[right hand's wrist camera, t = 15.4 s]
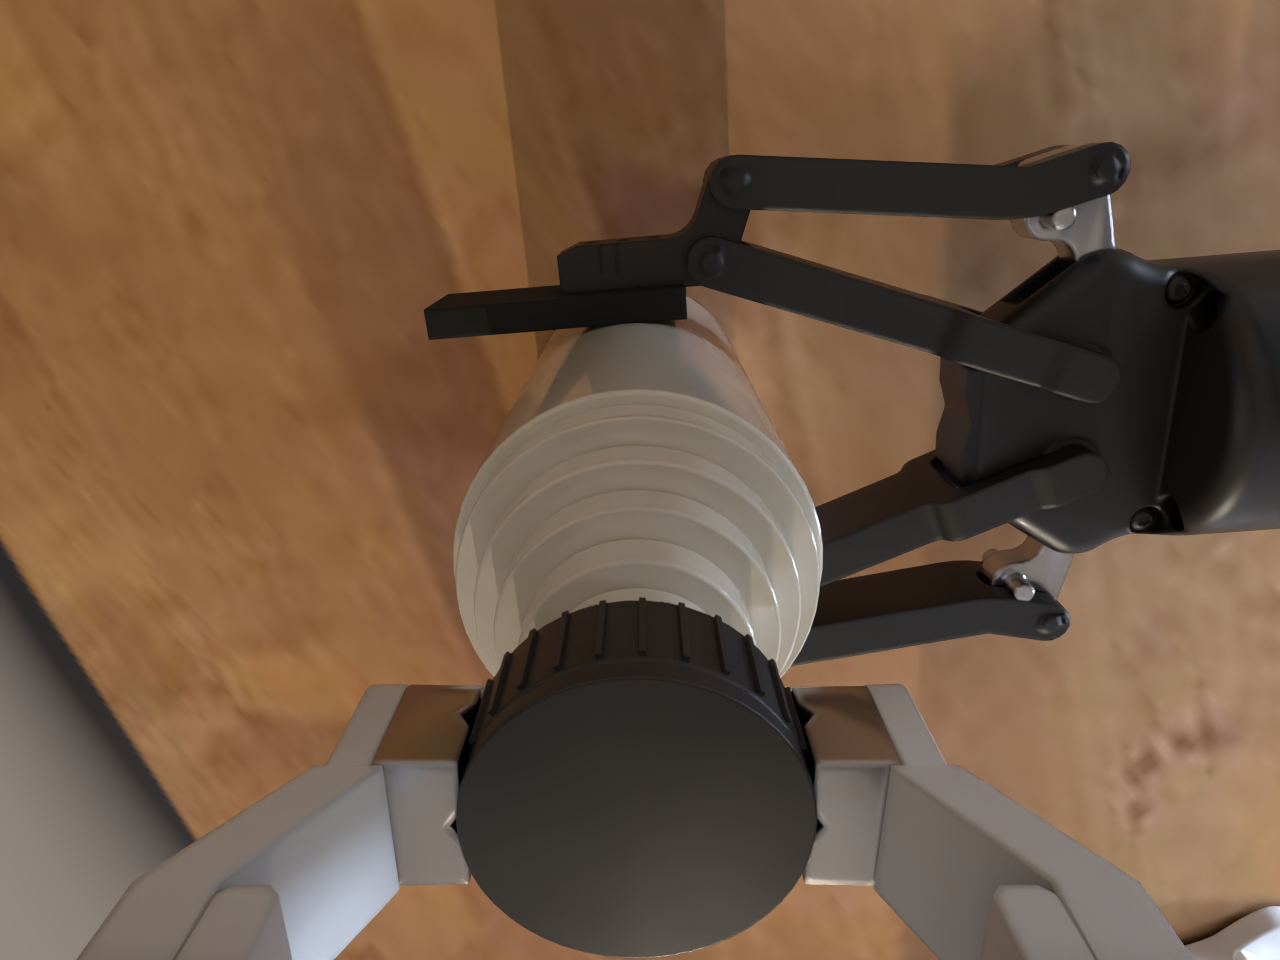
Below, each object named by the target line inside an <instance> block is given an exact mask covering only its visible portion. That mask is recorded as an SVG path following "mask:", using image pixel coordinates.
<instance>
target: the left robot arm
mask: <svg viewBox="0 0 1280 960" xmlns="http://www.w3.org/2000/svg"><path fill="white" fill-rule="evenodd" d="M1130 162H1131V161H1130V158H1129V155H1128V152H1127V151H1126V150H1125V149H1124V148H1123V146H1122V145H1119V144H1116V143H1113V142H1105V143H1086V144H1073V145H1060V146H1052V147H1049V148H1046V149H1043V150H1040V151H1037V152H1034V153H1031V154H1028V155H1024V156H1021V157H1018V158H1015V159H1012V160H1009V161H1006V162H1003V163H1000V164H997V165H972V164H948V163H924V162H900V161H876V160H852V159H828V158H804V157H780V156H756V155H730V156H725V157H722V158H718V159H716V160H715V161H713V162H712V163H710V165H709V166H708V168H707V169H706V170H705V173H704V177H703V184H702V188H701V191H700V195H699V198H698V202H697V205H696V209H695V212H694V214H693V217H692V219H691V220H690V222H689V223H688V224H687V225H686V226H685V227H684V228H683V229H682V230H680V231H678V232H676V233H672V234H668V235H656V236H644V237H632V238H620V239H608V240H596V241H584V242H579V243H577V244H575V245H573V246H571V247H569V248H567V249H565V250H563V251H562V252H561V253H560V254H559V255H558V256H557V261H558V269H559V278H560V285H556V286H543V287H531V288H519V289H507V290H494V291H482V292H470V293H458V294H448V295H446V296H445V297H443V298H442V299H440V300H438V301H437V302H435V303H434V304H432V305H430V306H429V307H427V308H426V309H424V314H425V320H426V325H427V331H428V337H429V340H433V339H445V338H458V337H470V336H483V335H495V334H508V333H520V332H533V331H545V330H558V329H571V328H583V327H596V326H608V325H619V324H632V323H646V322H658V321H671V320H683V319H687V304H686V288H685V287H689V286H701V285H702V286H704V287H707V288H710V289H714V290H717V291H721V292H724V293H727V294H731V295H734V296H738V297H741V298H744V299H748V300H751V301H755V302H758V303H761V304H765V305H768V306H772V307H775V308H779V309H782V310H785V311H789V312H792V313H796V314H799V315H802V316H806V317H809V318H813V319H816V320H819V321H823V322H826V323H830V324H833V325H836V326H840V327H843V328H847V329H850V330H853V331H857V332H860V333H864V334H867V335H870V336H874V337H877V338H881V339H884V340H887V341H891V342H894V343H898V344H901V345H905V346H908V347H911V348H915V349H918V350H922V351H925V352H928V353H932V354H935V355H937V356H940V357H941V363H940V383H941V387H942V392H943V396H944V401H945V408H944V411H943V414H942V417H941V420H940V423H939V426H938V429H937V435H936V450H933V451H931V452H929V453H926V454H924V455H922V456H919V457H917V458H914V459H912V460H910V461H908V462H907V463H906V464H905V465H904V466H903V468H902V469H901V471H900V472H898V473H897V474H895V475H892V476H890V477H887V478H885V479H883V480H880V481H878V482H875V483H873V484H871V485H868V486H866V487H863V488H861V489H859V490H856V491H854V492H851V493H849V494H847V495H844V496H842V497H839V498H837V499H834V500H832V501H830V502H827V503H825V504H822V505H820V506H818V507H815V508H816V512H817V515H818V519H819V522H820V527H821V534H822V542H823V570H822V576H821V583H820V591H819V597H818V604H817V610H816V613H815V617H814V620H813V623H812V626H811V629H810V632H809V634H808V636H807V638H806V641H805V643H804V645H803V647H802V649H801V651H800V652H799V654H798V656H797V657H796V659H795V660H794V662H793V663H792V665H791V666H796V665H802V664H808V663H814V662H820V661H826V660H832V659H838V658H844V657H849V656H855V655H861V654H867V653H873V652H879V651H885V650H891V649H897V648H903V647H909V646H915V645H921V644H927V643H933V642H939V641H945V640H951V639H957V638H963V637H968V636H974V635H980V634H986V633H990V634H997V635H1004V636H1012V637H1019V638H1027V639H1034V640H1042V641H1047V640H1053V639H1056V638H1059V637H1060V636H1061V635H1063V634H1064V633H1065V632H1066V630H1067V629H1068V627H1069V626H1070V620H1071V618H1070V615H1069V612H1068V611H1067V610H1066V609H1065V608H1064V607H1063V606H1062V605H1061V604H1060V603H1059V602H1058V601H1057V598H1058V595H1059V593H1060V590H1061V588H1062V585H1063V582H1064V580H1065V577H1066V575H1067V572H1068V569H1069V567H1070V564H1071V562H1072V559H1073V556H1074V554H1075V553H1082V552H1086V551H1089V550H1092V549H1094V548H1096V547H1098V546H1099V545H1101V544H1103V543H1105V542H1107V541H1109V540H1111V539H1114V538H1116V537H1119V536H1123V535H1126V534H1134V533H1139V534H1159V535H1196V534H1210V533H1224V532H1238V531H1252V530H1266V529H1280V250H1272V251H1260V252H1248V253H1236V254H1223V255H1211V256H1199V257H1186V258H1174V259H1162V260H1143V259H1141V258H1139V257H1137V256H1135V255H1134V254H1132V253H1130V252H1127V251H1125V250H1121V249H1115V239H1114V230H1113V220H1112V210H1111V201H1110V194H1111V193H1113V192H1115V191H1117V190H1118V189H1119V188H1120V187H1121V186H1122V185H1123V183H1124V182H1125V181H1126V178H1127V176H1128V174H1129V172H1130ZM750 210H771V211H795V212H820V213H844V214H869V215H893V216H918V217H943V218H967V219H992V220H1011V224H1012V227H1013V229H1014V230H1015V232H1016V233H1017V234H1019V235H1020V236H1022V237H1025V238H1029V239H1035V240H1041V241H1051V242H1052V243H1053V244H1054V245H1055V247H1056V248H1057V251H1058V256H1057V257H1055V258H1054V259H1053V260H1051V261H1050V262H1049V263H1047V264H1046V265H1045V266H1044V267H1042V268H1041V269H1040V270H1038V271H1037V272H1036V273H1034V274H1033V275H1032V276H1030V277H1029V278H1028V279H1026V280H1025V281H1024V282H1023V283H1021V284H1020V285H1019V286H1017V287H1016V288H1015V289H1013V290H1012V291H1011V292H1009V293H1008V294H1007V295H1005V296H1004V297H1003V298H1002V299H1000V300H999V301H998V302H996V303H995V304H994V305H992V306H991V307H990V308H988V309H987V310H986V311H984V312H980V311H977V310H974V309H970V308H967V307H964V306H961V305H957V304H954V303H951V302H947V301H944V300H941V299H937V298H934V297H930V296H927V295H922V294H918V293H915V292H911V291H908V290H905V289H901V288H898V287H895V286H891V285H888V284H885V283H882V282H878V281H875V280H872V279H868V278H865V277H862V276H858V275H855V274H852V273H848V272H845V271H842V270H838V269H835V268H832V267H828V266H825V265H822V264H818V263H815V262H812V261H808V260H805V259H802V258H798V257H795V256H792V255H788V254H785V253H782V252H779V251H775V250H772V249H769V248H765V247H762V246H759V245H755V244H752V243H749V242H745V241H742V240H741V239H742V235H743V232H744V229H745V226H746V222H747V219H748V216H749V213H750ZM956 487H958V488H956ZM1005 523H1009V524H1010V525H1012V526H1014V527H1015V528H1017V529H1019V530H1020V531H1022V532H1023V533H1025V534H1027V535H1028V537H1027V539H1026V540H1025V541H1024V542H1023V543H1022V544H1021V545H1019V546H1018V547H1016V548H1013V549H1010V550H1001V551H998V550H997V549H990V550H987V551H986V552H985V553H984V554H983V556H982V561H983V562H981V561H970V560H967V561H948V562H940V563H934V564H929V565H923V566H917V567H912V568H906V569H900V570H894V571H889V572H883V573H877V574H872V575H866V576H860V577H854V578H849V579H843V580H839V579H841V578H844V577H846V576H849V575H851V574H854V573H856V572H859V571H861V570H864V569H866V568H869V567H871V566H874V565H876V564H879V563H881V562H884V561H886V560H889V559H891V558H894V557H896V556H899V555H901V554H904V553H906V552H909V551H911V550H914V549H916V548H919V547H921V546H924V545H926V544H929V543H931V542H934V541H937V540H948V541H961V540H964V539H968V538H970V537H973V536H975V535H978V534H980V533H983V532H985V531H988V530H990V529H993V528H995V527H998V526H1000V525H1003V524H1005ZM836 580H837V581H836Z"/></svg>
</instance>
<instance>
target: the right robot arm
mask: <svg viewBox="0 0 1280 960" xmlns="http://www.w3.org/2000/svg"><path fill="white" fill-rule="evenodd" d="M484 689H485V687H484V686H453V685H410V686H409V685H372V686H371V687H369V688H368V689H367V690H366V691H365V693H364V694H363V696H362V698H361V700H360V702H359V704H358V706H357V708H356V709H355V711H354V713H353V715H352V717H351V719H350V721H349V722H348V724H347V726H346V728H345V730H344V732H343V734H342V736H341V737H340V739H339V741H338V743H337V745H336V747H335V749H334V750H333V752H332V754H331V756H330V758H329V760H328V762H327V764H326V765H317V766H313V767H311V768H310V769H308V770H306V771H305V772H303V773H302V774H300V775H299V776H297V777H295V778H294V779H292V780H291V781H289V782H288V783H286V784H284V785H283V786H281V787H280V788H278V789H277V790H275V791H274V792H272V793H270V794H269V795H267V796H266V797H264V798H263V799H261V800H259V801H258V802H256V803H255V804H253V805H252V806H250V807H248V808H247V809H245V810H244V811H242V812H241V813H239V814H237V815H236V816H234V817H233V818H231V819H230V820H228V821H227V822H225V823H223V824H222V825H220V826H219V827H217V828H216V829H214V830H212V831H211V832H209V833H208V834H206V835H205V836H203V837H201V838H200V839H198V840H197V841H195V842H194V843H192V844H191V845H189V846H188V847H186V848H184V849H183V850H181V851H180V852H178V853H177V854H175V855H173V856H172V857H170V858H169V859H167V860H166V861H164V862H162V863H161V864H159V865H158V866H156V867H155V868H153V869H151V870H150V871H148V872H147V873H145V874H144V875H142V876H140V877H139V878H137V879H136V880H134V881H133V882H132V883H131V885H130V886H129V887H128V889H127V890H126V891H125V893H124V894H123V896H122V897H121V898H120V900H119V901H118V903H117V904H116V905H115V907H114V908H113V910H112V911H111V912H110V914H109V915H108V916H107V918H106V919H105V921H104V922H103V923H102V925H101V926H100V928H99V929H98V930H97V932H96V933H95V935H94V936H93V937H92V939H91V940H90V941H89V943H88V944H87V946H86V947H85V949H84V950H83V951H82V952H81V954H80V955H79V957H78V958H77V959H76V960H334V959H335V958H336V957H337V956H338V955H339V954H340V953H341V951H342V950H343V949H344V948H345V947H346V946H347V945H348V944H349V943H350V942H351V941H352V940H353V939H354V938H355V937H356V936H357V935H358V934H359V932H360V931H361V930H362V929H363V928H364V927H365V926H366V925H367V924H368V923H369V922H370V921H371V920H372V919H373V918H374V917H375V916H376V914H377V913H378V912H379V911H380V910H381V909H382V908H383V907H384V906H385V905H386V904H387V903H388V902H389V901H390V900H391V899H392V898H393V897H394V895H395V894H396V893H397V892H398V891H399V890H400V888H399V886H412V885H446V884H469V882H470V878H471V872H470V870H469V868H468V866H467V863H466V861H465V859H464V857H463V854H462V850H461V847H460V843H459V839H458V834H457V825H456V807H457V797H458V793H459V789H460V784H461V780H462V777H463V773H464V770H465V767H466V764H467V760H468V756H469V753H470V750H471V745H469V744H468V742H469V739H470V735H471V732H472V729H473V726H474V722H475V719H476V716H477V712H478V709H479V706H480V702H481V699H482V696H483V692H484ZM790 689H791V692H792V696H793V699H794V702H795V706H796V709H797V713H798V716H799V719H800V723H801V726H802V730H803V733H804V737H805V740H806V744H807V747H808V750H809V753H807V754H804V755H805V758H806V762H807V766H808V769H809V772H810V776H811V779H812V783H813V787H814V791H815V795H816V801H817V815H818V819H817V829H816V837H815V841H814V845H813V848H812V852H811V856H810V858H809V860H808V862H807V865H806V867H805V869H804V871H803V873H802V875H803V879H804V883H805V884H826V885H861V886H874V890H875V891H876V892H877V893H878V894H879V895H880V897H881V898H882V899H883V900H884V901H885V902H886V903H887V904H888V905H889V906H890V907H891V908H892V909H893V910H894V912H895V913H896V914H897V915H898V916H899V917H900V918H901V919H902V920H903V921H904V922H905V923H906V924H907V925H908V926H909V928H910V929H911V930H912V931H913V932H914V933H915V934H916V935H917V936H918V937H919V938H920V939H921V940H922V941H923V943H924V944H925V945H926V946H927V947H928V948H929V949H930V950H931V951H932V952H933V953H934V954H935V955H936V956H937V957H938V959H939V960H1280V906H1270V907H1265V908H1262V909H1259V910H1257V911H1254V912H1252V913H1250V914H1248V915H1246V916H1245V917H1243V918H1241V919H1239V920H1237V921H1236V922H1234V923H1233V924H1231V925H1229V926H1228V927H1226V928H1224V929H1223V930H1221V931H1220V932H1218V933H1217V934H1215V935H1213V936H1211V937H1209V938H1206V939H1204V940H1201V941H1198V942H1195V943H1192V944H1188V945H1185V946H1184V944H1183V943H1182V942H1181V940H1180V939H1179V937H1178V936H1177V934H1176V933H1175V932H1174V930H1173V929H1172V927H1171V926H1170V924H1169V923H1168V922H1167V920H1166V919H1165V917H1164V916H1163V914H1162V913H1161V912H1160V910H1159V909H1158V907H1157V906H1156V905H1155V903H1154V902H1153V900H1152V899H1151V897H1150V896H1149V895H1148V893H1147V892H1146V890H1145V889H1144V887H1143V886H1142V885H1141V883H1140V882H1138V881H1137V880H1135V879H1134V878H1132V877H1131V876H1129V875H1127V874H1126V873H1124V872H1123V871H1121V870H1120V869H1118V868H1117V867H1115V866H1114V865H1112V864H1110V863H1109V862H1107V861H1106V860H1104V859H1103V858H1101V857H1100V856H1098V855H1097V854H1095V853H1093V852H1092V851H1090V850H1089V849H1087V848H1086V847H1084V846H1083V845H1081V844H1080V843H1078V842H1076V841H1075V840H1073V839H1072V838H1070V837H1069V836H1067V835H1066V834H1064V833H1062V832H1061V831H1059V830H1058V829H1056V828H1055V827H1053V826H1052V825H1050V824H1049V823H1047V822H1045V821H1044V820H1042V819H1041V818H1039V817H1038V816H1036V815H1035V814H1033V813H1032V812H1030V811H1028V810H1027V809H1025V808H1024V807H1022V806H1021V805H1019V804H1018V803H1016V802H1015V801H1013V800H1011V799H1010V798H1008V797H1007V796H1005V795H1004V794H1002V793H1001V792H999V791H998V790H996V789H994V788H993V787H991V786H990V785H988V784H987V783H985V782H984V781H982V780H981V779H979V778H977V777H976V776H974V775H973V774H971V773H970V772H968V771H967V770H965V769H963V768H962V767H960V766H956V765H947V763H946V761H945V760H944V758H943V756H942V754H941V752H940V750H939V748H938V746H937V745H936V743H935V741H934V739H933V737H932V735H931V733H930V731H929V729H928V728H927V726H926V724H925V722H924V720H923V718H922V716H921V714H920V712H919V711H918V709H917V707H916V705H915V703H914V701H913V699H912V697H911V695H910V694H909V692H908V690H907V688H906V687H904V686H903V685H901V684H884V685H864V686H833V687H790Z"/></svg>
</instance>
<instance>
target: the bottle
mask: <svg viewBox="0 0 1280 960" xmlns="http://www.w3.org/2000/svg"><path fill="white" fill-rule="evenodd" d="M686 304H687V319H683V320H671V321H658V322H646V323H632V324H619V325H608V326H596V327H583V328H571V329H558V330H555V331H554V332H553V334H552V336H551V338H550V339H549V341H548V343H547V345H546V347H545V348H544V350H543V352H542V354H541V356H540V358H539V359H538V361H537V363H536V365H535V367H534V369H533V370H532V372H531V374H530V376H529V378H528V379H527V381H526V383H525V385H524V387H523V389H522V390H521V392H520V394H519V396H518V398H517V400H516V401H515V403H514V405H513V407H512V409H511V410H510V412H509V414H508V416H507V418H506V420H505V421H504V423H503V425H502V427H501V429H500V431H499V432H498V434H497V436H496V438H495V440H494V441H493V443H492V445H491V447H490V449H489V451H488V452H487V454H486V456H485V458H484V460H483V462H482V463H481V465H480V467H479V469H478V471H477V472H476V474H475V476H474V478H473V480H472V482H471V483H470V486H469V488H468V490H467V492H466V495H465V497H464V499H463V502H462V504H461V507H460V511H459V514H458V518H457V522H456V525H455V533H454V541H453V572H454V577H455V583H456V594H457V599H458V605H459V611H460V615H461V618H462V621H463V624H464V627H465V630H466V633H467V635H468V637H469V639H470V641H471V643H472V645H473V647H474V649H475V651H476V653H477V655H478V656H479V658H480V659H481V661H482V662H483V664H484V665H485V667H486V668H487V669H488V671H489V672H490V673H491V674H492V675H493V676H494V677H495V675H496V674H497V672H498V670H499V669H500V667H501V663H502V660H503V656H504V654H505V653H506V652H507V651H508V652H510V653H512V652H513V651H514V650H515V649H516V648H517V647H518V646H519V645H520V644H521V643H522V642H523V641H524V640H525V639H527V638H528V635H529V631H530V630H532V629H533V628H535V629H536V630H537V631H538V630H539V629H540V628H542V627H543V626H545V625H546V624H548V623H550V622H552V621H554V620H556V619H558V618H560V617H561V615H562V612H565V611H567V610H568V611H569V613H571V612H574V611H577V610H579V609H582V608H586V607H588V606H593V605H595V604H599V601H602V600H606V603H608V602H617V601H625V600H639V597H645V598H646V600H648V601H657V602H661V601H663V602H668V603H672V604H676V605H678V603H679V602H682V603H685V607H689V608H692V609H694V610H697V611H700V612H703V613H705V614H708V615H710V616H712V617H714V616H715V615H718V616H720V617H721V618H722V622H724V623H726V624H728V625H730V626H731V627H733V628H734V629H735V630H736V631H738V632H739V633H741V634H742V635H744V636H746V635H747V634H749V635H750V636H751V637H752V638H753V643H754V645H755V646H756V647H757V648H759V649H760V651H761V652H762V653H763V654H764V655H765V657H766V658H767V659H768V660H770V659H772V658H773V659H774V661H775V662H776V665H777V668H778V672H779V676H780V678H781V677H782V676H783V675H784V674H785V673H786V671H787V670H788V669H789V668H790V666H791V665H792V663H793V662H794V660H795V659H796V657H797V656H798V654H799V652H800V651H801V649H802V647H803V645H804V643H805V641H806V638H807V636H808V634H809V632H810V629H811V626H812V623H813V620H814V617H815V613H816V610H817V604H818V597H819V591H820V583H821V576H822V570H823V542H822V534H821V527H820V522H819V519H818V515H817V512H816V508H815V505H814V502H813V500H812V498H811V495H810V493H809V491H808V489H807V487H806V484H805V482H804V480H803V478H802V477H801V475H800V473H799V471H798V469H797V467H796V465H795V463H794V462H793V460H792V458H791V456H790V454H789V452H788V450H787V449H786V447H785V445H784V443H783V441H782V439H781V437H780V436H779V434H778V432H777V430H776V428H775V426H774V424H773V422H772V421H771V419H770V417H769V415H768V413H767V411H766V409H765V408H764V406H763V404H762V402H761V400H760V398H759V396H758V395H757V393H756V391H755V389H754V387H753V385H752V383H751V381H750V380H749V378H748V376H747V374H746V372H745V370H744V368H743V367H742V365H741V363H740V361H739V359H738V357H737V355H736V354H735V352H734V350H733V348H732V346H731V344H730V342H729V340H728V339H727V337H726V335H725V333H724V332H723V330H722V329H721V327H720V325H719V324H718V323H717V322H716V320H715V319H714V318H713V317H712V316H711V314H710V313H708V312H707V311H706V310H705V309H704V308H703V307H702V306H701V305H699V304H698V303H696V302H695V301H693V300H692V299H691V298H689V297H687V296H686Z"/></svg>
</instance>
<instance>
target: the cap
mask: <svg viewBox="0 0 1280 960" xmlns="http://www.w3.org/2000/svg"><path fill="white" fill-rule="evenodd" d="M468 744H469V745H471V750H470V753H469V756H468V760H467V764H466V767H465V770H464V773H463V777H462V780H461V784H460V789H459V793H458V797H457V807H456V825H457V834H458V839H459V843H460V847H461V850H462V854H463V857H464V859H465V861H466V863H467V866H468V868H469V870H470V872H471V874H472V876H473V877H474V879H475V880H476V882H477V883H478V885H479V886H480V888H481V889H482V890H483V892H484V893H485V894H486V895H487V896H488V897H489V898H490V900H491V901H492V902H493V903H494V904H495V905H496V906H497V907H498V908H499V909H501V910H502V911H503V912H504V913H505V914H506V915H507V916H509V917H510V918H511V919H513V920H514V921H516V922H517V923H519V924H520V925H521V926H523V927H524V928H526V929H528V930H530V931H531V932H533V933H535V934H537V935H539V936H541V937H543V938H545V939H547V940H550V941H552V942H555V943H557V944H560V945H562V946H565V947H568V948H572V949H575V950H579V951H582V952H586V953H592V954H597V955H602V956H610V957H621V958H653V957H663V956H672V955H677V954H682V953H687V952H692V951H695V950H699V949H702V948H705V947H709V946H712V945H714V944H717V943H719V942H722V941H724V940H726V939H729V938H731V937H733V936H735V935H737V934H739V933H740V932H742V931H744V930H746V929H748V928H749V927H751V926H752V925H754V924H755V923H757V922H758V921H759V920H761V919H762V918H764V917H765V916H766V915H767V914H769V913H770V912H771V911H772V910H773V909H774V908H775V907H776V906H777V905H779V904H780V903H781V902H782V900H783V899H784V898H785V897H786V896H787V895H788V893H789V892H790V891H791V890H792V889H793V887H794V886H795V884H796V883H797V881H798V879H799V878H800V876H801V875H802V873H803V871H804V869H805V867H806V865H807V862H808V860H809V858H810V856H811V852H812V848H813V845H814V841H815V837H816V829H817V819H818V815H817V801H816V795H815V791H814V787H813V783H812V779H811V776H810V772H809V769H808V766H807V762H806V758H805V755H804V754H807V753H809V750H808V747H807V744H806V740H805V737H804V733H803V730H802V726H801V723H800V719H799V716H798V713H797V709H796V706H795V702H794V699H793V696H792V692H791V689H790V687H787V688H784V685H783V683H782V681H781V678H780V676H779V672H778V668H777V665H776V662H775V661H774V659H773V658H772V659H770V660H768V659H767V658H766V657H765V655H764V654H763V653H762V652H761V651H760V649H759V648H757V647H756V646H755V645H754V643H753V638H752V637H751V636H750V635H749V634H747V635H746V636H744V635H742V634H741V633H739V632H738V631H736V630H735V629H734V628H733V627H731V626H730V625H728V624H726V623H724V622H722V618H721V617H720V616H718V615H715V616H714V617H712V616H710V615H708V614H705V613H703V612H700V611H697V610H694V609H692V608H689V607H685V603H682V602H679V603H678V605H676V604H672V603H668V602H663V601H661V602H657V601H648V600H646V598H645V597H639V600H625V601H617V602H608V603H606V600H602V601H599V604H595V605H593V606H588V607H586V608H582V609H579V610H577V611H574V612H571V613H569V611H568V610H567V611H565V612H562V615H561V617H560V618H558V619H556V620H554V621H552V622H550V623H548V624H546V625H545V626H543V627H542V628H540V629H539V630H538V631H537V630H536V629H535V628H533V629H532V630H530V631H529V635H528V638H527V639H525V640H524V641H523V642H522V643H521V644H520V645H519V646H518V647H517V648H516V649H515V650H514V651H513V652H512V653H510V652H508V651H507V652H506V653H505V654H504V656H503V660H502V663H501V667H500V669H499V670H498V672H497V674H496V675H495V677H494V679H493V680H490V679H488V681H487V683H486V686H485V689H484V692H483V696H482V699H481V702H480V706H479V709H478V712H477V716H476V719H475V722H474V726H473V729H472V732H471V735H470V739H469V742H468Z"/></svg>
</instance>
